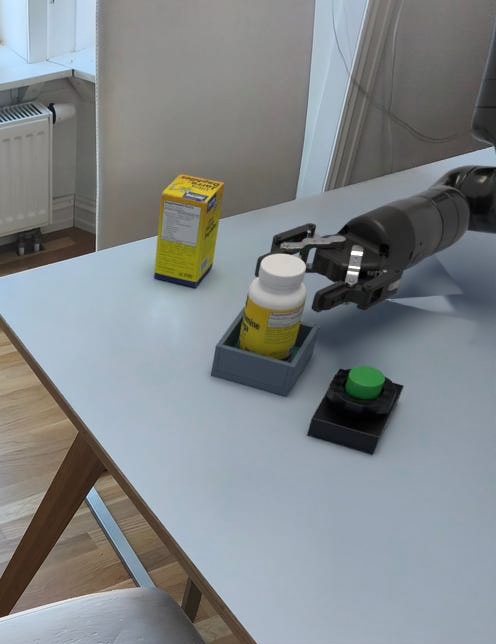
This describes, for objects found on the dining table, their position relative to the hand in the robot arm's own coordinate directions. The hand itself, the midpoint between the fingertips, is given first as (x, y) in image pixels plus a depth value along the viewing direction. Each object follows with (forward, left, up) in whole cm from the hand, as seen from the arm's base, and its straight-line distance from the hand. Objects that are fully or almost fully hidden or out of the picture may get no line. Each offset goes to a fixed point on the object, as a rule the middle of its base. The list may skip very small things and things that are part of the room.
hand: (286, 285), depth 94 cm
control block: (-11, +6, -9) cm, 16 cm away
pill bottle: (+1, +1, -9) cm, 9 cm away
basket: (+1, +1, -9) cm, 9 cm away
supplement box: (+17, -14, -10) cm, 24 cm away
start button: (-11, +6, -6) cm, 14 cm away
